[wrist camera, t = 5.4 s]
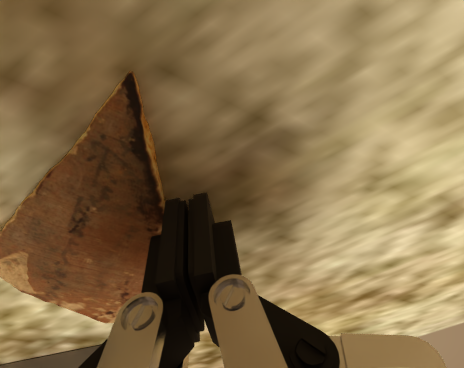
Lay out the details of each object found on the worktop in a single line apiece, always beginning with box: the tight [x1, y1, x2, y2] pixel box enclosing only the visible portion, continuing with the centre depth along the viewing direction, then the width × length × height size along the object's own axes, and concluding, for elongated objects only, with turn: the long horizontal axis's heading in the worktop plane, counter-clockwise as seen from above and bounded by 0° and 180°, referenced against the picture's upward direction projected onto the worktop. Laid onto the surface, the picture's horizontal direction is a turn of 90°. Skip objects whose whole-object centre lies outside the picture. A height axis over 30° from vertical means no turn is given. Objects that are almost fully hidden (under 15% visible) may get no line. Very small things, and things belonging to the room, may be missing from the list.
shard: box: [0, 71, 165, 323], centre depth 12 cm, size 11×8×2 cm
